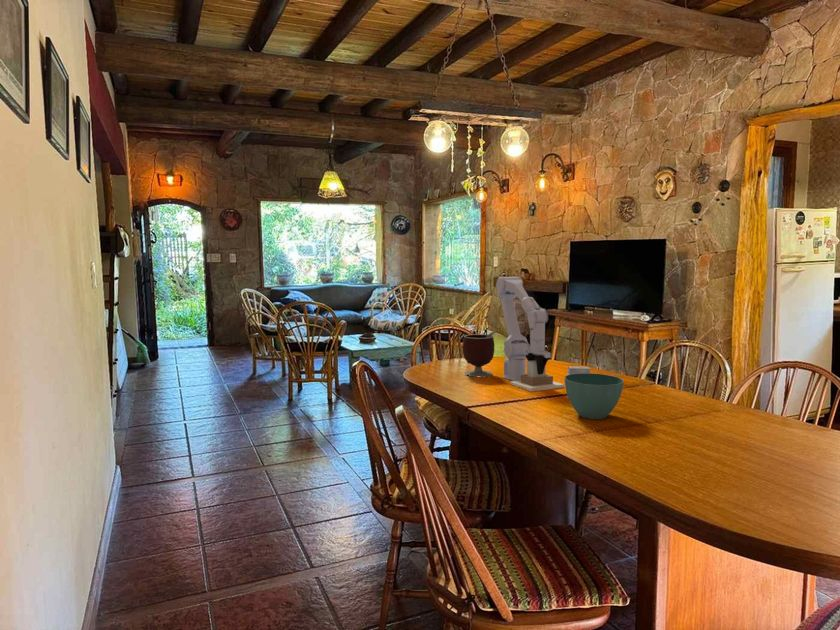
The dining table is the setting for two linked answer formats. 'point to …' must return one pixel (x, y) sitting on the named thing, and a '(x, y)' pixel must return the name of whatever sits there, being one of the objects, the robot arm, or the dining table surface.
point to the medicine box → (578, 370)
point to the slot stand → (537, 383)
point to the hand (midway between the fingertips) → (536, 373)
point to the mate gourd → (478, 352)
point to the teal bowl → (593, 393)
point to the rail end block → (533, 369)
